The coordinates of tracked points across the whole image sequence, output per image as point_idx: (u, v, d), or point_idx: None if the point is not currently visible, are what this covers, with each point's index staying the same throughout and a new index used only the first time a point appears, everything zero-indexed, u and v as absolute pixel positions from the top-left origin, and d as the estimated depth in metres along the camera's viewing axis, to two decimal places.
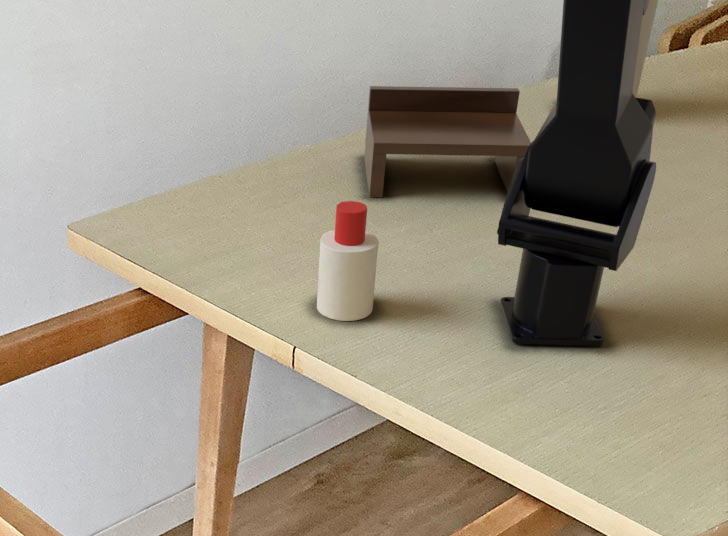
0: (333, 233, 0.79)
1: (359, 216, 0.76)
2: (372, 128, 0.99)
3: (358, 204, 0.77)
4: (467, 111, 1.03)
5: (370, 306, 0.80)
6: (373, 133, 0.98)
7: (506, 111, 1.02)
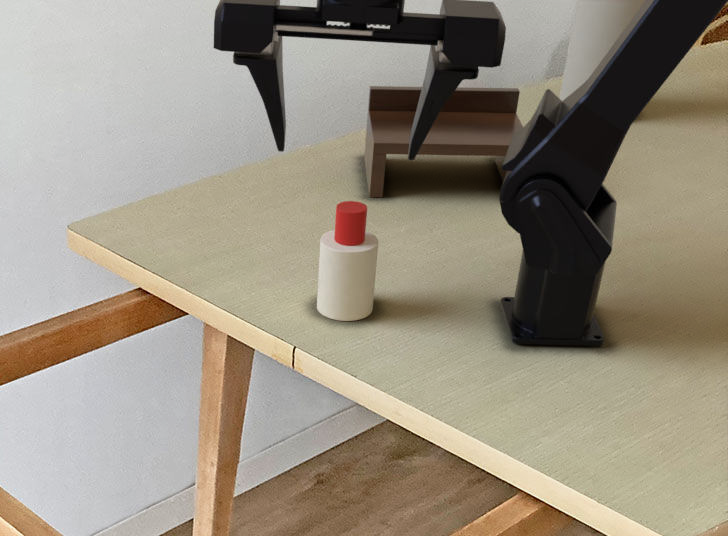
0: (333, 233, 0.79)
1: (359, 216, 0.76)
2: (372, 128, 0.99)
3: (358, 204, 0.77)
4: (467, 111, 1.03)
5: (370, 306, 0.80)
6: (373, 133, 0.98)
7: (506, 111, 1.02)
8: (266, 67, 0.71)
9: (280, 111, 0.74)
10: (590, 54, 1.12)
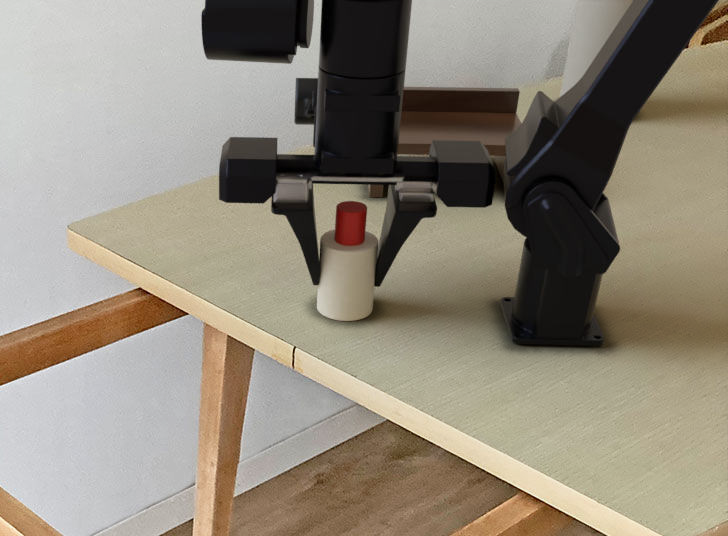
0: (333, 233, 0.79)
1: (359, 216, 0.76)
2: None
3: (358, 204, 0.77)
4: (467, 111, 1.03)
5: (370, 306, 0.80)
6: None
7: (506, 111, 1.02)
8: (304, 215, 0.74)
9: (316, 252, 0.77)
10: (590, 54, 1.12)
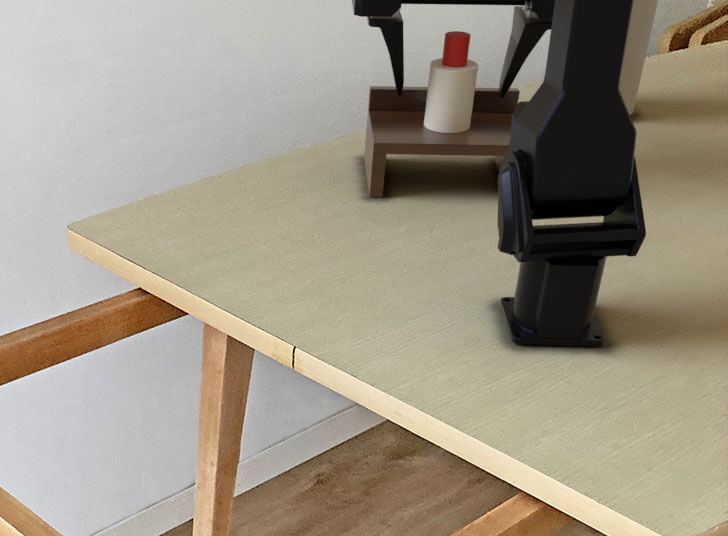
0: (440, 60, 0.97)
1: (464, 41, 0.94)
2: (372, 128, 0.99)
3: (462, 33, 0.95)
4: None
5: (469, 122, 0.98)
6: (373, 133, 0.98)
7: (506, 111, 1.02)
8: (395, 27, 0.92)
9: (402, 63, 0.95)
10: None
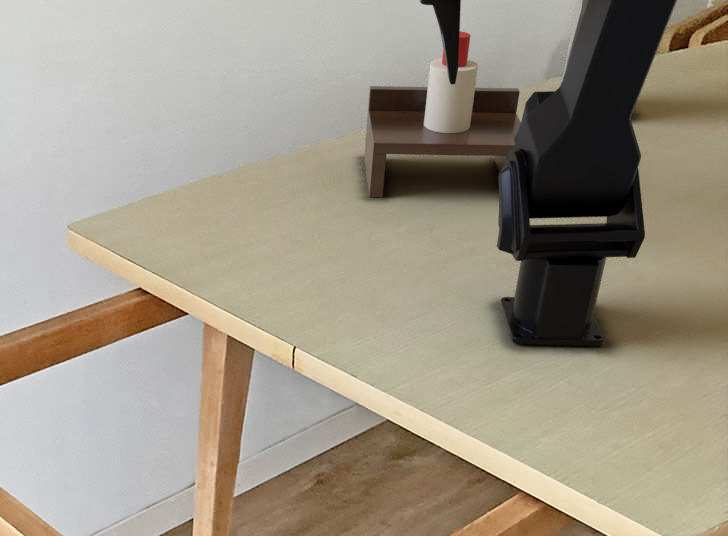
0: (440, 60, 0.97)
1: (464, 41, 0.94)
2: (372, 128, 0.99)
3: (462, 33, 0.95)
4: None
5: (469, 122, 0.98)
6: (373, 133, 0.98)
7: (506, 111, 1.02)
8: (451, 5, 0.81)
9: (458, 46, 0.83)
10: None
